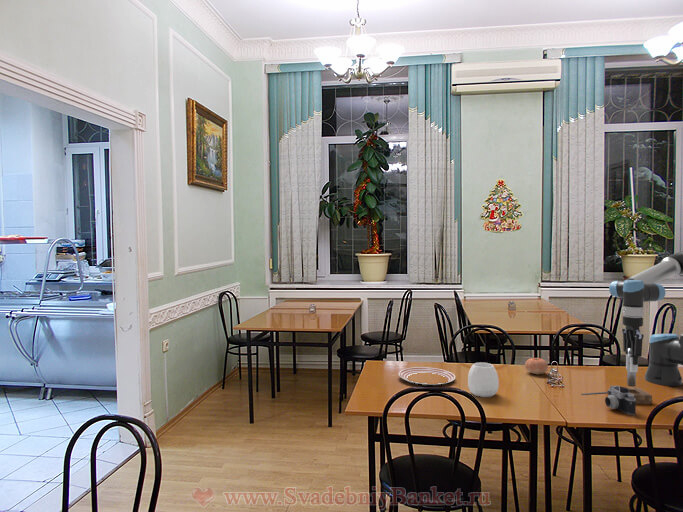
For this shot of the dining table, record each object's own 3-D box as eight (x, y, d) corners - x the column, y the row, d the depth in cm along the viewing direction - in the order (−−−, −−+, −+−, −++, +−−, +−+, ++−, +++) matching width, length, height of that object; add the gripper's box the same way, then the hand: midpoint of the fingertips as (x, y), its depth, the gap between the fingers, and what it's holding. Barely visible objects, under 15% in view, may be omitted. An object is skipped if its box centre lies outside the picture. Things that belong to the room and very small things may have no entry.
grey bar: (633, 384, 214) (634, 347, 214) (637, 386, 211) (638, 349, 210) (625, 384, 215) (626, 347, 214) (629, 386, 211) (629, 349, 211)
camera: (595, 403, 209) (595, 379, 209) (614, 402, 210) (614, 379, 209) (617, 416, 194) (618, 391, 193) (638, 415, 194) (638, 390, 194)
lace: (608, 392, 223) (608, 391, 223) (610, 392, 222) (610, 392, 222) (580, 394, 220) (581, 393, 220) (582, 394, 219) (582, 394, 219)
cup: (477, 388, 230) (477, 359, 230) (504, 394, 221) (504, 364, 220) (462, 394, 221) (462, 365, 221) (489, 401, 212) (489, 370, 211)
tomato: (521, 370, 259) (521, 355, 259) (541, 370, 260) (541, 355, 260) (531, 376, 248) (531, 360, 248) (552, 375, 249) (552, 360, 249)
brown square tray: (638, 395, 218) (638, 387, 218) (652, 403, 207) (652, 395, 207) (612, 394, 219) (612, 387, 219) (624, 403, 208) (624, 395, 208)
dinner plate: (463, 377, 248) (463, 371, 248) (443, 393, 225) (443, 385, 225) (412, 370, 263) (412, 364, 263) (389, 383, 240) (389, 377, 240)
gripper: (614, 313, 220) (614, 365, 221) (633, 319, 204) (632, 375, 205) (632, 313, 219) (631, 366, 220) (652, 319, 203) (651, 376, 204)
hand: (631, 370), depth 213 cm, fingers closed on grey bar, 3 cm apart
